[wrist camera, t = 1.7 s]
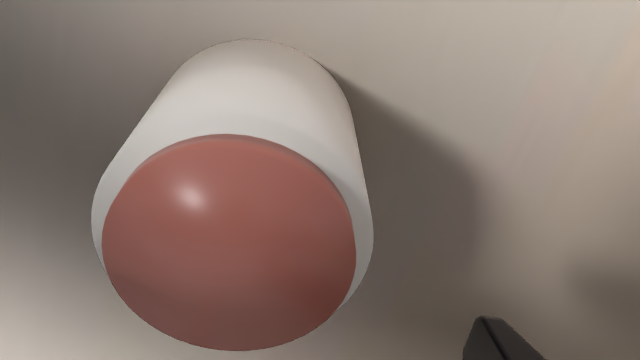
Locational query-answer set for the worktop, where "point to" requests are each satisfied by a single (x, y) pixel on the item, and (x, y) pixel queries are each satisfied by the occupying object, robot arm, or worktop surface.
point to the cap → (238, 201)
